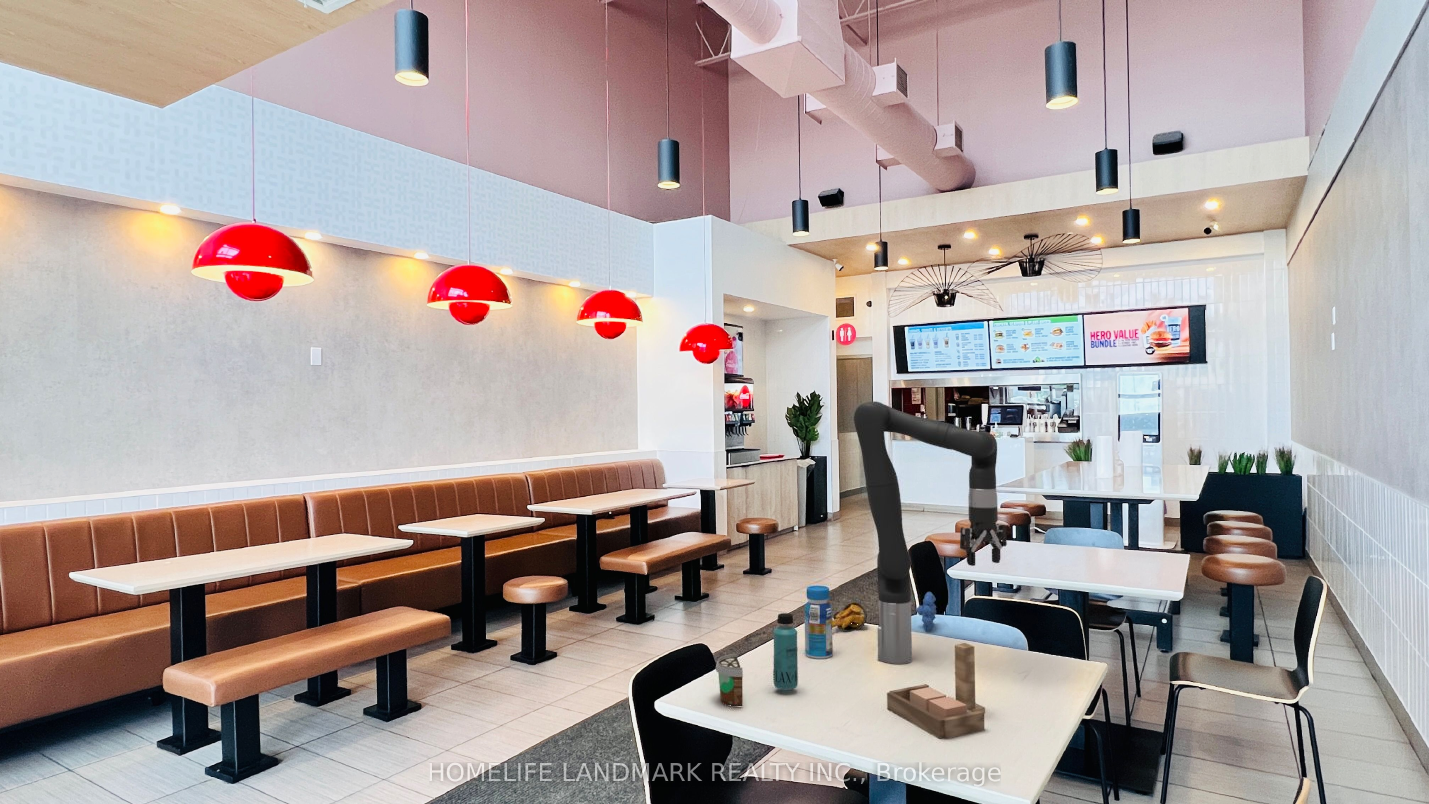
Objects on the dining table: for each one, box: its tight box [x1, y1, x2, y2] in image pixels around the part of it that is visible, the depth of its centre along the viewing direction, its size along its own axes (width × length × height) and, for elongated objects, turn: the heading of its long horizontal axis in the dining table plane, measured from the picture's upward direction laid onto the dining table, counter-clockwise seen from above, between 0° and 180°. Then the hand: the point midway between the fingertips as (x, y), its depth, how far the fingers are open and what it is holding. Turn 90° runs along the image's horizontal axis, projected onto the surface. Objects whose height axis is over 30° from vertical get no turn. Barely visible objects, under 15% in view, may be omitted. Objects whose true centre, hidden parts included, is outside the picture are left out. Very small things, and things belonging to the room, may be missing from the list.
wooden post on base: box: [954, 642, 986, 714], centre depth 190 cm, size 9×15×16 cm, turn 24°
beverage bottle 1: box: [772, 612, 799, 691], centre depth 206 cm, size 6×7×20 cm
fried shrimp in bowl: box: [832, 601, 868, 633], centre depth 261 cm, size 9×11×18 cm
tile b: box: [910, 686, 947, 712], centre depth 190 cm, size 6×6×5 cm
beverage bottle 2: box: [803, 584, 834, 660], centre depth 236 cm, size 8×8×20 cm
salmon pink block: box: [929, 696, 967, 719], centre depth 184 cm, size 6×6×5 cm
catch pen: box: [886, 683, 985, 740], centre depth 187 cm, size 12×20×4 cm, turn 24°
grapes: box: [915, 591, 937, 632], centre depth 262 cm, size 12×7×12 cm, turn 155°
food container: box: [715, 653, 744, 707], centre depth 200 cm, size 12×6×10 cm, turn 5°
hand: (983, 563), depth 217 cm, fingers open, 8 cm apart
